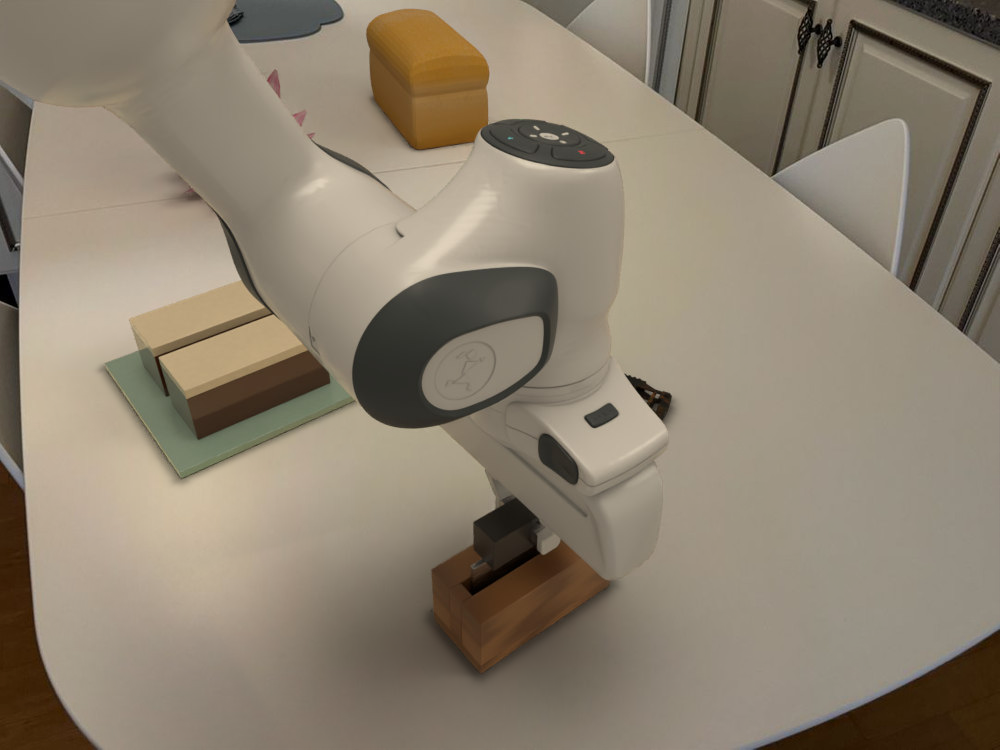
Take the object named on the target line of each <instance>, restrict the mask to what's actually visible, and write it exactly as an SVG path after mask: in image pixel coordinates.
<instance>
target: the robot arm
mask: <svg viewBox="0 0 1000 750" xmlns="http://www.w3.org/2000/svg"><path fill="white" fill-rule="evenodd" d="M236 3H237V0H0V81H1V82H3V83H5V84H6V85H8V86H9V87H11V88H13V90H16V91H18V92H19V93H20V94H21V95H24V96H25V97H27V98H28V99H30V100H32V101H34V102H37V103H40V104H46V105H51V106H56V107H64V108H73V109H75V108H76V109H77V108H78V109H79V108H80V109H82V108H98V107H99V108H100V107H101V108H103V109H105V110H107V111H109V112H110V113H112V114H114V116H115V117H117V118H118V119H120V120H121V121H123V122H124V123H125V124H126V125H127V126H129V127H130V128H131V129H132V130H133V131H134V132H135V133H136V134H138V135H139V137H140V138H142V139H143V141H144V142H145V143H146V144H148V146H149V147H150V148H151V149H152V150H154V151H155V153H157V155H159V156H160V158H162V160H164V162H165V163H167V165H169V166H170V168H171V169H173V171H174V172H176V174H177V175H178V176H179V177H180V178H182V180H183V181H185V182H186V183H187V185H188V186H190V187H191V188H193V189H194V190H195V191H194V192H195V193H196V194H197V195H198V196H199V197H201V199H202V200H203V201H204V202H205V203H206V204H207V206H208V207H210V209H211V210H212V211H213V213H214V214H215V215H216V217H217V219H218V221H219V223H220V225H221V228H222V231H223V234H224V237H225V239H226V242H227V246H228V249H229V253H230V257H231V259H232V261H233V265H234V267H235V269H236V272H237V275H238V276H239V278H240V280H242V282H243V284H244V285H245V287H246V288H247V289H248V291H249V292H250V293H251V294H252V295H253V297H254V298H255V299H257V300H258V301H259V302H260V303H261V304H262V305H263V306H264V307H266V308H267V309H268V310H269V311H270V312H271V313H272V314H274V315H275V316H276V317H277V318H278V319H279V320H281V321H282V322H283V323H284V324H285V325H286V326H287V327H288V329H289V330H290V331H291V332H292V333H293V334H294V335H295V336H296V337H297V338H298V340H299V341H300V342H301V343H302V344H303V345H304V346H305V347H306V348H307V349H308V350H309V352H310V353H311V354H312V355H313V356H314V357H315V358H316V359H317V360H318V361H319V363H320V364H321V365H322V366H323V367H324V368H325V369H326V370H327V371H328V372H329V373H330V374H331V375H332V377H333V378H334V379H335V380H336V381H337V382H338V383H339V384H340V385H341V386H342V387H343V388H344V389H345V390H346V392H347V393H348V394H349V395H350V396H351V397H352V398H353V399H354V400H355V401H354V402H356V403H357V404H358V405H359V406H360V407H361V408H362V409H363V410H364V411H365V412H366V414H367V415H369V417H371V418H372V419H374V420H375V421H377V422H379V423H380V424H383V425H386V426H388V427H393V428H397V429H406V430H407V429H408V430H409V429H411V430H413V429H425V428H426V429H427V428H433V427H438V426H439V427H440V428H441V430H442V431H444V432H445V433H446V434H447V435H448V436H449V437H450V438H452V439H453V440H454V442H456V443H457V444H458V445H459V446H460V447H461V448H462V449H463V450H465V452H467V454H469V455H470V456H471V457H472V459H474V460H475V461H476V462H477V463H478V464H480V466H482V468H484V473H485V476H486V478H487V480H488V482H489V485H490V487H491V490H492V493H493V495H494V496H495V503H494V504H495V507H494V508H495V509H497V508H498V507H500V506H502V505H504V504H505V503H507V502H509V501H510V500H512V499H514V498H517V499H518V500H519V501H521V502H522V503H523V504H524V505H525V506H526V507H527V508H528V509H529V510H530V511H531V512H532V513H533V514H535V515H536V516H537V517H538V518H539V521H540V523H536V524H535V525H533V526H531V527H530V528H529V536H530V537H529V542H530V543H531V544H532V545H533V546H534V547H535V548H536V549H537V550H538V551H539V552H540V553H541V554H542V555H545V554H546V553H548V552H550V551H551V550H553V549H554V548H556V547H557V546H558V545H559V543H560V540H562V541H563V542H565V543H566V544H567V545H568V546H569V547H570V548H571V549H572V550H573V551H574V552H575V553H576V554H577V555H579V556H580V557H581V558H582V559H583V560H584V561H585V562H586V563H587V564H588V565H589V566H590V567H591V568H592V569H594V570H595V571H596V572H597V573H598V574H599V575H600V576H601V577H602V578H603V579H605V580H610V581H614V580H619V579H621V578H624V577H625V576H628V575H629V574H631V573H633V572H634V571H636V570H637V569H638V568H640V567H641V566H642V565H644V564H645V563H646V562H647V561H648V560H649V559H650V558H651V557H652V556H653V554H654V552H655V550H656V548H657V544H658V539H659V534H660V530H661V524H662V523H661V522H662V514H663V504H664V482H663V476H662V474H661V470H660V469H659V467H658V464H657V463H656V459H658V458H659V457H660V456H661V455H662V454H665V452H666V451H667V449H668V445H669V441H670V434H669V433H670V432H669V430H668V427H667V426H666V424H665V423H664V422H663V421H662V420H660V418H659V417H658V416H657V415H656V414H655V413H654V412H653V410H654V409H652V408H650V407H649V406H648V405H647V401H645V399H644V398H642V397H641V396H640V395H639V394H638V393H637V391H636V390H635V389H634V387H633V386H632V385H631V383H630V382H629V380H628V379H627V377H626V376H625V374H626V373H625V372H624V371H623V369H622V368H621V366H620V364H619V363H618V361H617V360H616V359H615V358H614V357H613V355H612V346H613V345H612V343H613V342H612V341H613V339H612V331H611V327H610V323H609V316H610V315H609V314H610V310H611V308H612V306H613V304H614V303H615V300H616V298H617V295H618V292H619V289H620V282H621V275H622V274H621V271H622V264H623V254H624V244H625V229H626V228H625V227H626V200H625V187H624V180H623V176H622V171H621V167H620V164H619V161H618V159H617V157H616V156H615V154H613V153H612V152H611V151H610V150H609V148H608V147H607V146H605V145H604V144H602V143H600V142H599V141H598V140H596V139H594V138H592V137H590V136H588V135H587V134H584V133H583V132H581V131H579V130H576V129H573V128H572V127H569V126H566V125H564V124H558V123H553V122H550V121H549V122H548V121H546V120H543V119H542V120H541V119H533V118H508V119H502V120H497V121H495V122H491V123H488V125H486V126H484V127H483V128H482V129H481V130H480V131H479V132H478V134H477V136H476V138H475V141H474V142H473V144H472V148H471V151H470V153H469V156H468V157H467V159H466V161H465V162H464V163H463V165H462V166H461V167H460V169H458V171H457V172H456V174H455V175H454V176H453V177H452V178H451V180H450V181H449V182H448V183H447V184H446V185H445V186H444V187H443V188H442V189H441V190H440V191H439V192H438V193H437V194H436V195H435V196H433V198H431V199H430V200H429V201H428V202H427V203H426V204H424V205H423V206H422V207H420V208H419V209H416V208H415V207H413V206H412V205H411V204H409V203H408V202H406V201H405V200H404V199H403V198H401V197H400V196H398V195H397V194H396V193H394V192H393V191H392V190H391V188H389V186H387V185H386V184H385V183H384V182H383V181H382V180H380V179H379V178H378V177H377V176H376V175H374V173H373V172H371V171H370V170H369V169H368V168H366V167H364V165H362V164H361V163H359V162H358V161H355V160H354V159H351V158H350V157H348V156H347V155H344V154H341V153H339V152H337V151H334V150H332V149H329V148H328V147H326V146H323V145H321V144H319V143H316V142H315V141H314V140H313V139H312V138H311V139H310V138H309V137H308V136H307V135H306V134H307V133H306V132H305V131H304V129H303V128H302V126H301V127H300V125H299V124H298V122H297V121H296V120H295V118H294V117H293V116H292V115H293V114H292V113H291V112H290V109H288V107H287V106H286V104H285V103H284V102H283V101H282V99H281V97H280V98H279V97H278V95H277V94H276V92H275V91H274V90H273V88H272V87H271V86H270V84H269V83H268V82H267V79H266V78H265V76H264V74H262V72H261V70H260V69H259V68H258V67H257V65H256V63H255V62H254V61H253V59H252V58H251V57H250V56H249V53H247V51H246V50H245V49H244V47H243V46H242V45H241V43H240V41H239V39H237V37H236V35H235V33H234V32H233V30H232V28H231V26H230V24H229V22H228V18H229V17H230V15H231V14H232V11H233V9H234V7H235V5H236ZM624 373H625V374H624ZM495 509H494V510H495Z"/></svg>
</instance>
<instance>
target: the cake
mask: <svg viewBox="0 0 1000 750" xmlns="http://www.w3.org/2000/svg"><path fill="white" fill-rule="evenodd" d="M128 321H129V325H130V327H131V330H132V334H133V337H134V340H135V343H136V347H137V350H136V351H134V352H131V353H128V354H125V355H123V356H120V357H116V358H114V359H112V360H109V361H106V362H104V366H105V369H106V371H107V372H108V374H109V375H110V376H111V378H112V380H113V381H114V382H115V384H116V385H117V387H118V388H119V390H120V391H121V393H122V394H123V395H124V397H125V398H126V400H127V401H128V403H129V404H130V406H131V407H132V409H133V410H134V411H135V413H136V414H137V416H138V417H139V420H141V422H142V424H143V425H144V426H145V428H146V430H148V432H149V434H150V435H151V436H152V438H153V439H154V441H155V442H156V444H157V445H158V447H159V448H160V449H161V451H162V453H163V454H164V455H165V456H166V458H167V460H168V462H169V463H170V464H171V466H172V468H173V469H174V470H175V471H176V474H177V475H178V476H179V477H180V479H184V478H186V477H188V476H191V475H192V474H195V473H197V472H199V471H201V470H204V469H207V468H208V467H210V466H212V465H215V464H217V463H219V462H221V461H224V460H226V459H228V458H231V457H232V456H235V455H237V454H240V453H242V452H244V451H246V450H248V449H251V448H253V447H255V446H257V445H259V444H261V443H264V442H266V441H268V440H270V439H273V438H275V437H277V436H279V435H282V434H284V433H286V432H289V431H290V430H292V429H295V428H297V427H300V426H301V425H304V424H306V423H308V422H310V421H312V420H315V419H317V418H319V417H321V416H324V415H326V414H328V413H330V412H333V411H334V410H337V409H339V408H341V407H344V406H346V405H348V404H350V403H352V402H356V401H355V400H354V399H353V398H352V397H351V396H350V395H349V394H348V393H347V392H346V390H345V389H344V388H343V387H342V386H341V385H340V384H339V383H338V382H337V381H336V380H335V379H334V378H333V377H332V375H331V374H330V373H329V372H328V371H327V370H326V369H325V368H324V367H323V366H322V365H321V364H320V363H319V361H318V360H317V359H316V358H315V357H314V356H313V355H312V354H311V353H310V352H309V350H308V349H307V348H306V347H305V346H304V345H303V344H302V343H301V342H300V341H299V340H298V338H297V337H296V336H295V335H294V334H293V333H292V332H291V331H290V330H289V329H288V327H287V326H286V325H285V324H284V323H283V322H282V321H281V320H279V319H278V318H277V317H276V316H275V315H274V314H272V313H271V312H270V311H269V310H268V309H267V308H266V307H264V306H263V305H262V304H261V303H260V302H259V301H258V300H257V299H255V298H254V297H253V295H252V294H251V293H250V292H249V291H248V289H247V288H246V287H245V285H244V284H243V282H242V280H241V279H240V280H236V281H234V282H232V283H228V284H226V285H224V286H223V285H222V286H219V287H216V288H214V289H211V290H208V291H205V292H203V293H200V294H196V295H193V296H190V297H187V298H185V299H182V300H179V301H176V302H173V303H170V304H167V305H165V306H161V307H158V308H156V309H152V310H150V311H147V312H145V313H142V314H138V315H135V316H133V317H129V318H128Z"/></svg>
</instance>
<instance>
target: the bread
mask: <svg viewBox="0 0 1000 750" xmlns="http://www.w3.org/2000/svg"><path fill="white" fill-rule="evenodd" d="M365 37H366V42H367V45H368V48H369V55H368V56H369V57H368V58H369V59H368V60H369V61H368V62H369V79H370V86H371V91H372V95H373V99H374V101H375V102H376V105H378V107H379V108H380V109H381V110H382V112H383V113H384V114H385V116H387V118H388V119H389V120H390V121H391V123H392V125H394V127H395V128H396V129H397V131H398V132H399V133H400V134H401V135H402V137H403V138H404V139H405V141H406V142H407V143H408V144H409V145H410V147H412V148H413V149H415V150H429V149H434V148H441V147H448V146H454V145H460V144H467V143H472V142H473V143H474V141H475V138H476V136H477V134H478V132H479V131H480V130H481V129H482V128H483V127H484V126H486V125H488V124H489V97H488V95H489V94H488V89H487V87H488V85H489V80H490V67H489V64H488V61H487V59H486V57H485V56H484V54H482V53H481V51H479V50H478V49H477V48H476V47H475V45H473V44H472V43H471V42H470V41H469V40H467V39H466V38H465V37H464V36H462V35H461V34H460V33H459V32H458V31H457V30H455V28H453V27H452V26H451V25H450V24H449V23H447V22H446V21H445V20H444V19H443V18H442V17H440V16H439V15H437V13H435V12H433V11H431V10H428V9H421V8H400V9H397V10H393V11H389V12H385V13H382V14H379V15H377V16H375V17H374V18H373V19H372V20H371V21H370V22H369V23H368V25H367V27H366V31H365Z"/></svg>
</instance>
